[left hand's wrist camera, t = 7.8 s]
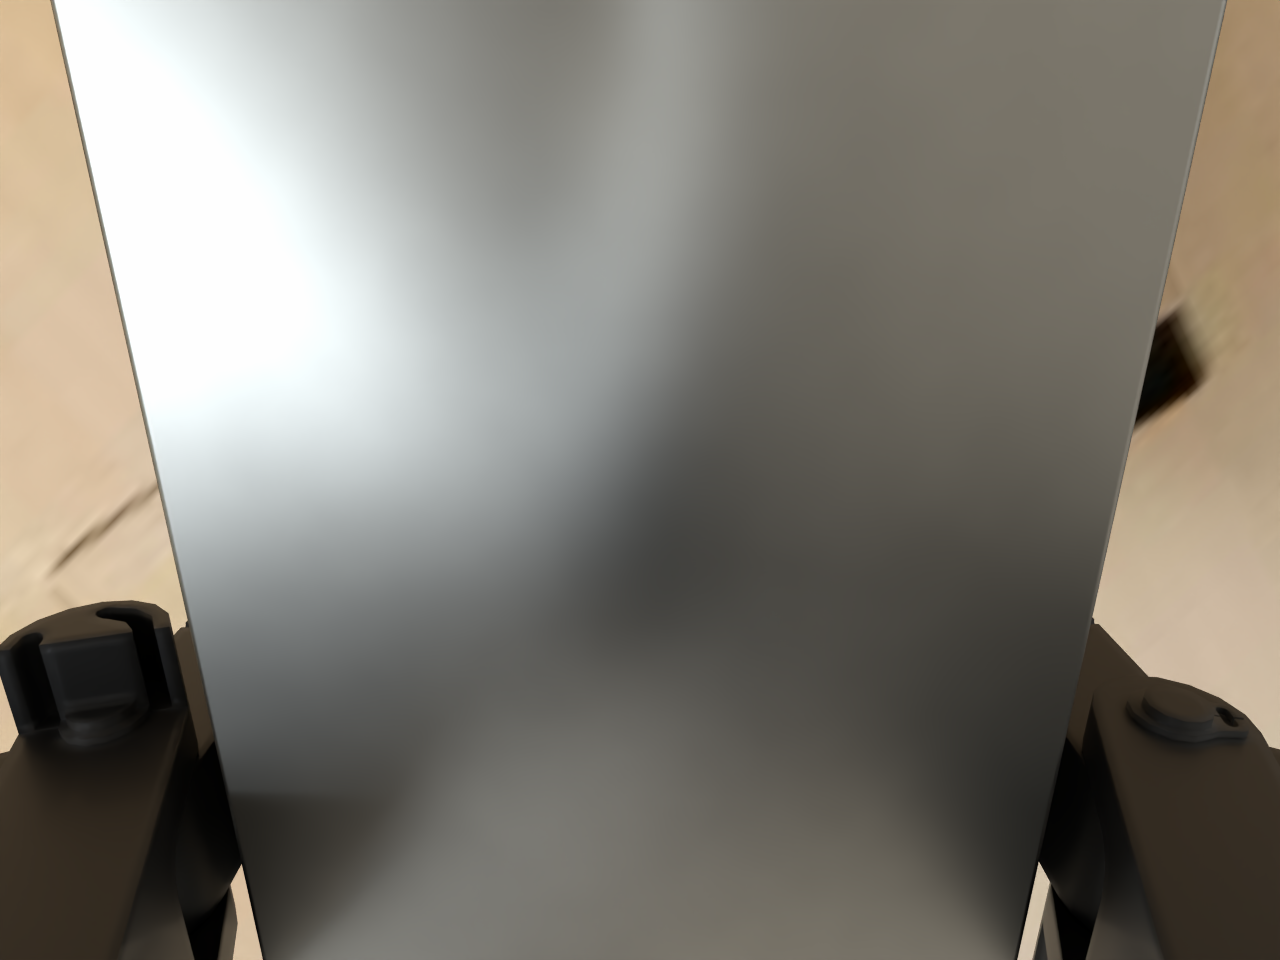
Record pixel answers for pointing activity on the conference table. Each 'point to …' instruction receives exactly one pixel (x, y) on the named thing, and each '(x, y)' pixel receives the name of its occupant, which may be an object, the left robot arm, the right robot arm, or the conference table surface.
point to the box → (639, 444)
